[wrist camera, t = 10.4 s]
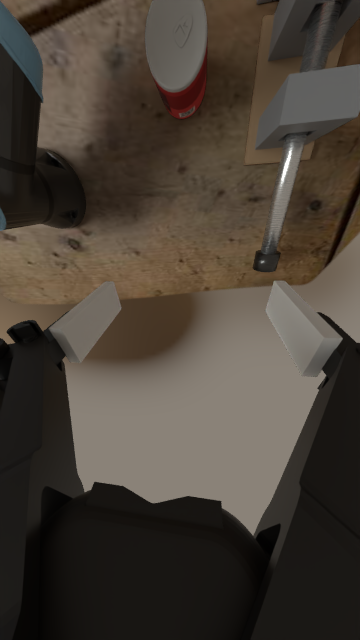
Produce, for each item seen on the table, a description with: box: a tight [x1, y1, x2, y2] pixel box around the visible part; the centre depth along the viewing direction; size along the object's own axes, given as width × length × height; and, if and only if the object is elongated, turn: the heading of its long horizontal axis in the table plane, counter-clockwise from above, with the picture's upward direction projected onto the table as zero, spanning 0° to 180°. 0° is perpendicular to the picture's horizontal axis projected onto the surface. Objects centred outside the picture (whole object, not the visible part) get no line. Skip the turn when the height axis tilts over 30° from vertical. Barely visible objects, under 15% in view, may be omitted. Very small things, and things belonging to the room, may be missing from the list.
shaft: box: [253, 0, 343, 272], centre depth 29 cm, size 31×5×5 cm, turn 3°
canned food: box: [145, 0, 208, 119], centre depth 25 cm, size 8×8×11 cm
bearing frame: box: [244, 0, 360, 166], centre depth 23 cm, size 16×12×14 cm
